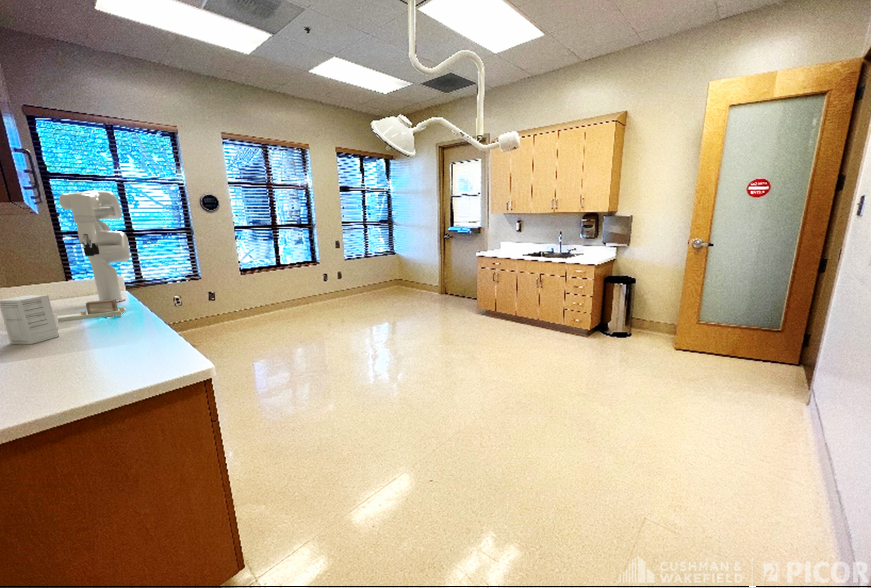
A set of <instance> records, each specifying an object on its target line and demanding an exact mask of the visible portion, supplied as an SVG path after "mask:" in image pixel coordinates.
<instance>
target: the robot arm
mask: <svg viewBox="0 0 871 588" xmlns="http://www.w3.org/2000/svg"><path fill="white" fill-rule="evenodd" d="M58 201H59V205H60V207H61V208H63V210H67V211H68V210H69V211H71V212H72V215H73V216H72V217H73V221H74V223H75V224H76V228H77V236H78V239H79V240H78V241H79V243H80V244H81V245H83V246H82V248H83V252H84V256H86V257H87V259H88V260H89V262H90V265H91V269H92V273H93V277H94V282H95V283H94V284H95V287H96V291H97V297H98V299H97V300H96V301H101V300H112V299H116V303H119V301H120V302H123V301H126V299H127V298H126V297H125V296H122V293H121V288H120V283H119V282H120V281H119V279H118V273H117V270H116V268H115V267H114V266H112V265H111V263H122V262H123V263H124V262H128V261H129V260H130V259H131V258H130V257H131V255H130V254H131V253H130V245H129V238H128V236H127V234H126V233H125V232H123V231H121V230H120V231H119V230H117V231H115V230H114V231H111V228H110V226H109V225H108V224H106V223H105V222H104V221H101V220H119V219H121V218H122V214H123V213H122V209H121V207H120V203H119V200H118V198H117V196H116V195H115V194H114V193H113V192H112V191H109V190H107V191H105V190H86V191H78V192H68V193H67V192H64V193H61V194H60V195H59V198H58ZM109 263H110V264H109Z"/></svg>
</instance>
